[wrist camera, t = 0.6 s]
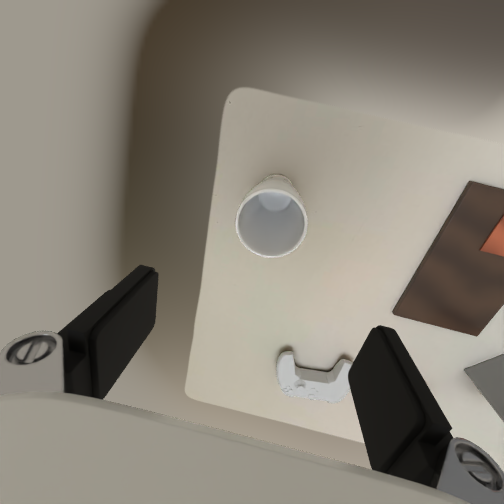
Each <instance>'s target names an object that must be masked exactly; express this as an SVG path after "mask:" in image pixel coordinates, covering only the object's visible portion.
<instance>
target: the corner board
mask: <svg viewBox="0 0 504 504" xmlns="http://www.w3.org/2000/svg"><path fill="white" fill-rule="evenodd" d="M503 304H504V189H500V188H496V187H492V186H488V185H484V184H480V183H476V182H472V181H469V183H468V185H467V186H466V188H465V190H464V191H463V193H462V195H461V196H460V198H459V200H458V201H457V203H456V205H455V207H454V208H453V210H452V212H451V213H450V215H449V217H448V218H447V220H446V222H445V224H444V225H443V227H442V229H441V230H440V232H439V234H438V235H437V237H436V239H435V240H434V242H433V244H432V246H431V247H430V249H429V251H428V252H427V254H426V256H425V257H424V259H423V261H422V263H421V264H420V266H419V268H418V269H417V271H416V273H415V274H414V276H413V278H412V279H411V281H410V283H409V285H408V286H407V288H406V290H405V291H404V293H403V295H402V296H401V298H400V300H399V302H398V303H397V305H396V307H395V308H394V310H393V314H394V315H397V316H400V317H404V318H408V319H412V320H416V321H420V322H423V323H427V324H431V325H435V326H439V327H443V328H447V329H450V330H454V331H458V332H462V333H466V334H470V335H474V336H478V335H479V334H480V333H481V331H482V330H483V329H484V328H485V326H486V325H487V324H488V323H489V322H490V320H491V319H492V318H493V317H494V315H495V314H496V313H497V312H498V311H499V309H500V308H501V307H502V306H503Z"/></svg>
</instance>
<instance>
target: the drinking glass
mask: <svg viewBox="0 0 504 504" xmlns="http://www.w3.org/2000/svg"><path fill="white" fill-rule="evenodd" d="M235 227H236V232H237V235H238V237H239V239H240V241H241V242H242V244H243V245H244V246H245V247H246V248H247V249H248V250H249V251H251V252H252V253H254V254H256V255H259V256H262V257H266V258H277V257H282V256H285V255H287V254H289V253H291V252H293V251H294V250H295V249H296V248H297V247H298V246H299V245H300V244H301V243H302V241H303V240H304V238H305V235H306V232H307V227H308V219H307V212H306V207H305V204H304V201H303V199H302V197H301V195H300V194H299V192H298V191H297V190H296V189H295V188H294V186H293V184H292V182H291V181H290V180H289V179H288V178H287V177H285V176H282V175H277V174H275V175H270V176H268V177H266V178H265V179H263V180H262V182H260V183H259V184H257V185H256V186H255V187H253V188H252V189H251V190H250V191H249V192H248V193H247V194H246V196H245V197H244V199H243V200H242V202H241V204H240V206H239V208H238V211H237V214H236V219H235Z"/></svg>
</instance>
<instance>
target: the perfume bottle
mask: <svg viewBox="0 0 504 504" xmlns="http://www.w3.org/2000/svg"><path fill="white" fill-rule="evenodd" d="M464 371H465V372H466V373H467V375H468V376H469V377H470V379H471V380H472V381H473V383H474V384H475V385H476V387H477V388H478V389H479V391H480V392H481V393H482V395H483V396H484V397H485V398H486V400H487V401H488V402H489V404H490V405H491V406H492V408H493V409H494V410H495V411H496V413H497V414H498V415H499V417H500V418H501V419H502V421H503V422H504V354H503V355H500V356H498V357H495V358H493V359H490V360H487V361H485V362H482V363H479V364H477V365H474V366H472V367H469V368H466V369H464Z"/></svg>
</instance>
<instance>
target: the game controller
mask: <svg viewBox="0 0 504 504" xmlns="http://www.w3.org/2000/svg"><path fill="white" fill-rule="evenodd" d="M352 364H353V363H352V362H351V361H349V360H345V359H341V360H340V361H339V362H338V363H337V364H336V365H335V367H334V368H333V369H332V370H331V371H330V372H322V371H316V370H309V369H303V368H298V367H297V366H295V363H294V356H293V352H292V351H285V352H283V353H281V354H280V356H279V358H278V360H277V364H276V375H277V380H278V383H279V385H280V387H281V390H282V391H283V393H284V394H285V395H287V396H289V397H294V396H296V397H303V398H309V399H310V400H314V399H315V400H322V401H327V402H328V403H338V402H340V401H341V400H342V399H343V398H344V397H345V396H346V395H347V393H348V392H349V390H350V385H349V381H348V372H349V370H350V368H351V366H352Z"/></svg>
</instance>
